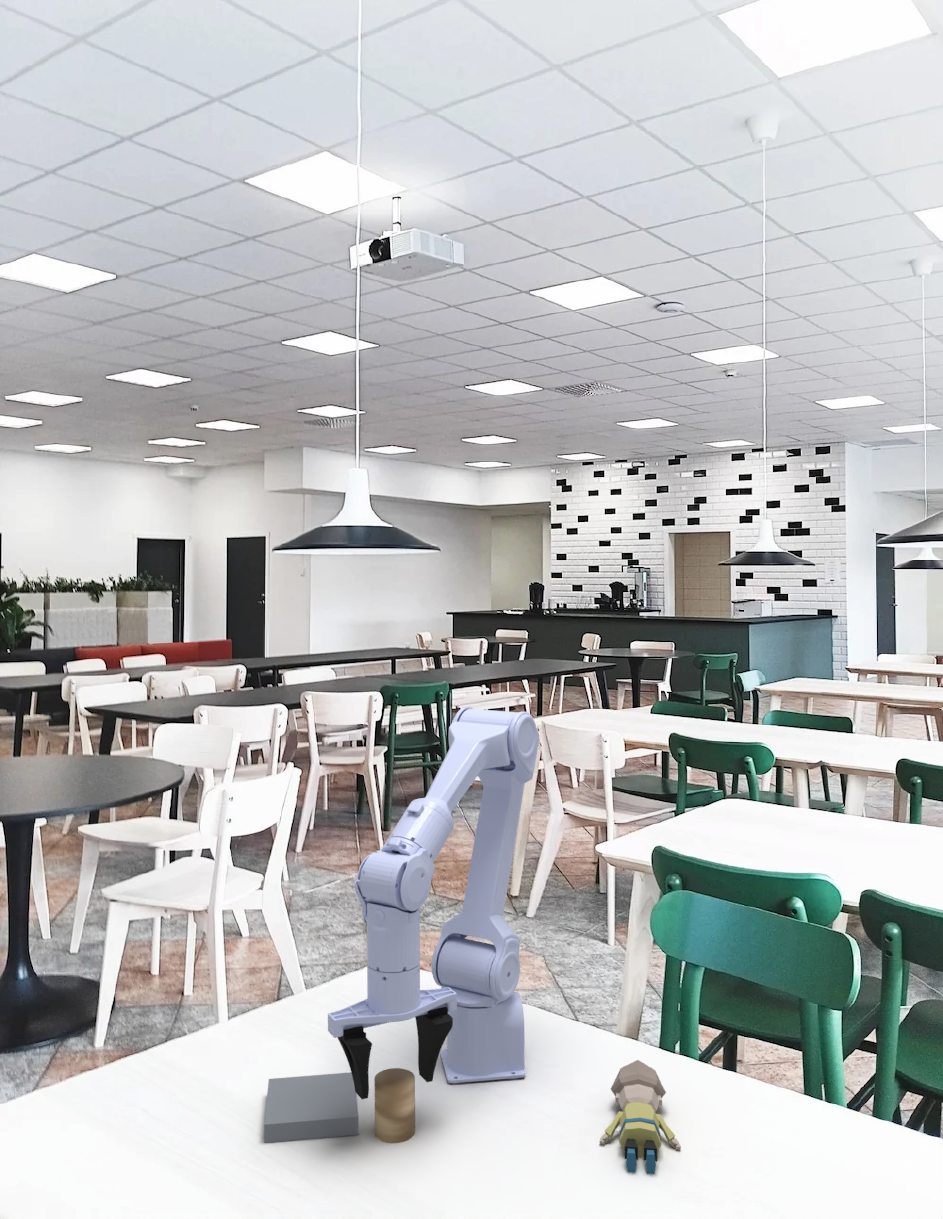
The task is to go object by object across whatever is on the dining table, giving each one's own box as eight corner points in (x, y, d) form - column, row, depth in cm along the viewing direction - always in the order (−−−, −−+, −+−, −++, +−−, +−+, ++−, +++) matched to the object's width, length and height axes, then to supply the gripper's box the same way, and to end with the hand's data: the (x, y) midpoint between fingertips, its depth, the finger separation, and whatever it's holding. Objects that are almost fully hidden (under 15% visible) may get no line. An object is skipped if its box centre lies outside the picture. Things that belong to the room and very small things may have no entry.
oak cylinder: (413, 1119, 114) (412, 1066, 114) (417, 1141, 110) (416, 1086, 110) (373, 1122, 114) (373, 1069, 113) (376, 1144, 109) (375, 1089, 109)
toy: (683, 1185, 103) (674, 1100, 118) (683, 1134, 103) (675, 1056, 118) (598, 1178, 105) (600, 1096, 119) (598, 1128, 104) (600, 1051, 119)
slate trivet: (355, 1088, 121) (354, 1072, 121) (358, 1134, 111) (358, 1116, 111) (269, 1095, 120) (268, 1078, 119) (264, 1142, 110) (264, 1124, 110)
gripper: (437, 939, 118) (437, 1055, 118) (317, 962, 111) (318, 1085, 112) (465, 960, 112) (466, 1082, 112) (341, 985, 105) (341, 1115, 105)
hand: (394, 1086), depth 111 cm, fingers open, 7 cm apart
